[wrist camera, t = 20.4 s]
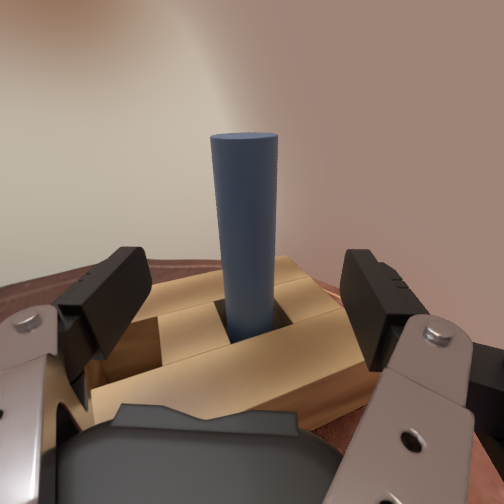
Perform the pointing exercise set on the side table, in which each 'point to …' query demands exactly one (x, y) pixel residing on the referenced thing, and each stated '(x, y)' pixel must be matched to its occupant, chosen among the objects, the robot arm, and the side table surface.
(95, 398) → the rack
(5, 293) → the side table surface
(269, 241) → the peg
